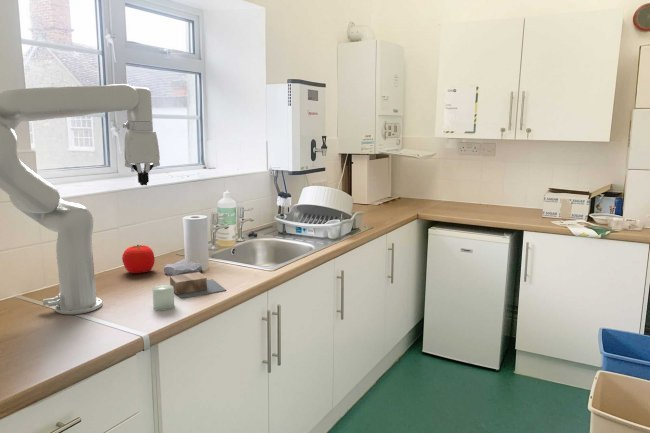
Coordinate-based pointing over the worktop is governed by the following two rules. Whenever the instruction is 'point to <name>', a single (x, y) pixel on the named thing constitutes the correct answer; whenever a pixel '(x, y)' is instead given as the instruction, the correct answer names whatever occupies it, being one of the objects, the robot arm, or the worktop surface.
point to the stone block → (182, 268)
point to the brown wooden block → (188, 282)
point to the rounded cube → (163, 297)
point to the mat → (211, 288)
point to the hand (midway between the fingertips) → (143, 184)
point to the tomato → (138, 259)
